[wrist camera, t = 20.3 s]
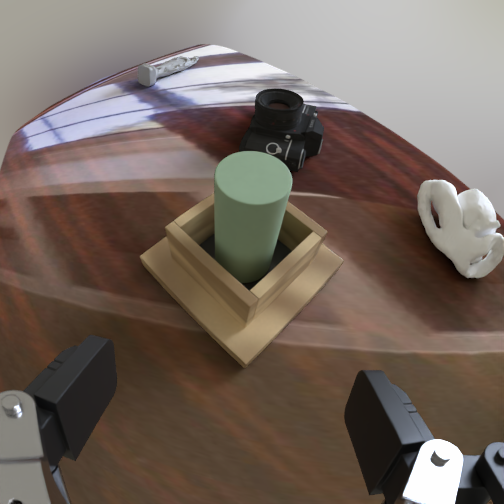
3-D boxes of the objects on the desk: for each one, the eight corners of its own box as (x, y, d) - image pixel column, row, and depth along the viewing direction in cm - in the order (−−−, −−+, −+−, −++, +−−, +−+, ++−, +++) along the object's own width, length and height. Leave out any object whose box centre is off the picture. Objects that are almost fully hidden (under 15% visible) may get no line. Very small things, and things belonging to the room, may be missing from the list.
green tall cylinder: (242, 226, 26) (252, 141, 19) (281, 259, 25) (307, 178, 18) (203, 257, 25) (198, 173, 17) (243, 294, 23) (255, 218, 16)
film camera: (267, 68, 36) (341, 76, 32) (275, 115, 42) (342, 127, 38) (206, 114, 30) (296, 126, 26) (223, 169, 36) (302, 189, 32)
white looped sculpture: (402, 196, 34) (453, 152, 29) (453, 266, 35) (500, 229, 30) (412, 220, 26) (476, 166, 22) (468, 303, 27) (527, 259, 23)
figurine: (138, 83, 42) (137, 64, 40) (191, 66, 49) (191, 49, 46) (150, 87, 41) (149, 67, 39) (204, 69, 48) (205, 52, 45)
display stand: (241, 192, 31) (245, 150, 26) (338, 269, 27) (361, 233, 22) (143, 265, 26) (128, 226, 21) (244, 368, 22) (251, 350, 17)
